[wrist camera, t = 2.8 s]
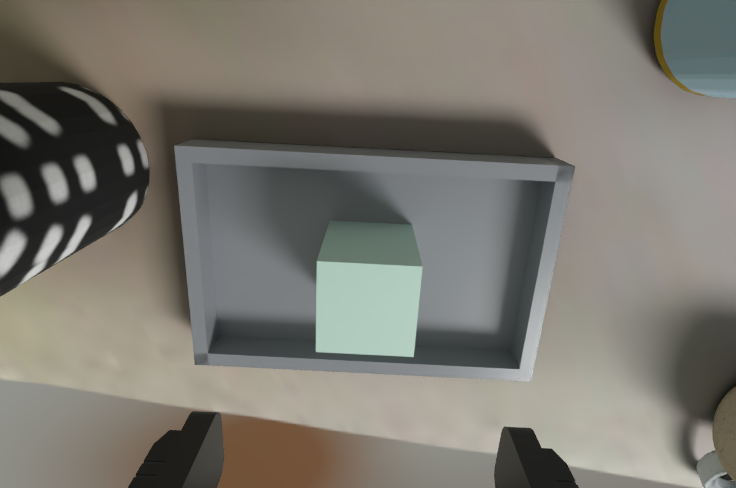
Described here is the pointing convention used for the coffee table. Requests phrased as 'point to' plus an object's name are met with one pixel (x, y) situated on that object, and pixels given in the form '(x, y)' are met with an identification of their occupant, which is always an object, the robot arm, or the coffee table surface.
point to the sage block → (368, 289)
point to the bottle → (698, 45)
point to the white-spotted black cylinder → (62, 174)
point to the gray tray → (374, 205)
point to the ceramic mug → (721, 446)
